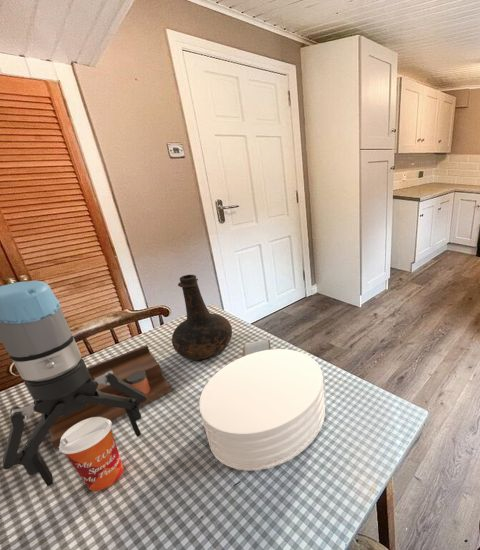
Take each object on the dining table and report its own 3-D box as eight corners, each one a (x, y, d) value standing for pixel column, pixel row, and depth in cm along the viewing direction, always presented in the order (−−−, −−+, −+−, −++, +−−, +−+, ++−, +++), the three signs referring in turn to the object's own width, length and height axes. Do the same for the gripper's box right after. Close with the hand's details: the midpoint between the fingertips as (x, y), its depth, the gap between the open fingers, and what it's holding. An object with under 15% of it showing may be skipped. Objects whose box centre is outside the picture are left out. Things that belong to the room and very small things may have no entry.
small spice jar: (128, 397, 80) (122, 381, 78) (139, 385, 84) (134, 370, 82) (143, 397, 80) (138, 381, 78) (154, 386, 84) (149, 370, 82)
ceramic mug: (246, 358, 100) (242, 338, 97) (272, 353, 103) (269, 334, 99) (244, 379, 91) (240, 359, 88) (273, 374, 93) (269, 353, 90)
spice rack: (49, 414, 79) (35, 387, 76) (154, 368, 96) (146, 344, 92) (56, 451, 69) (40, 422, 66) (172, 393, 86) (164, 367, 82)
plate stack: (267, 370, 95) (262, 339, 90) (344, 400, 83) (343, 366, 79) (182, 441, 71) (170, 404, 67) (274, 496, 60) (267, 456, 56)
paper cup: (92, 507, 58) (64, 456, 53) (77, 485, 62) (50, 436, 57) (137, 473, 64) (117, 424, 59) (121, 455, 68) (100, 408, 63)
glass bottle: (234, 332, 115) (220, 262, 104) (235, 359, 100) (220, 281, 89) (180, 343, 108) (160, 270, 98) (173, 374, 93) (148, 292, 83)
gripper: (-68, 425, 41) (4, 521, 49) (144, 344, 59) (172, 425, 67) (-61, 398, 46) (3, 490, 54) (134, 330, 63) (161, 407, 71)
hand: (97, 454), depth 60 cm, fingers open, 13 cm apart
